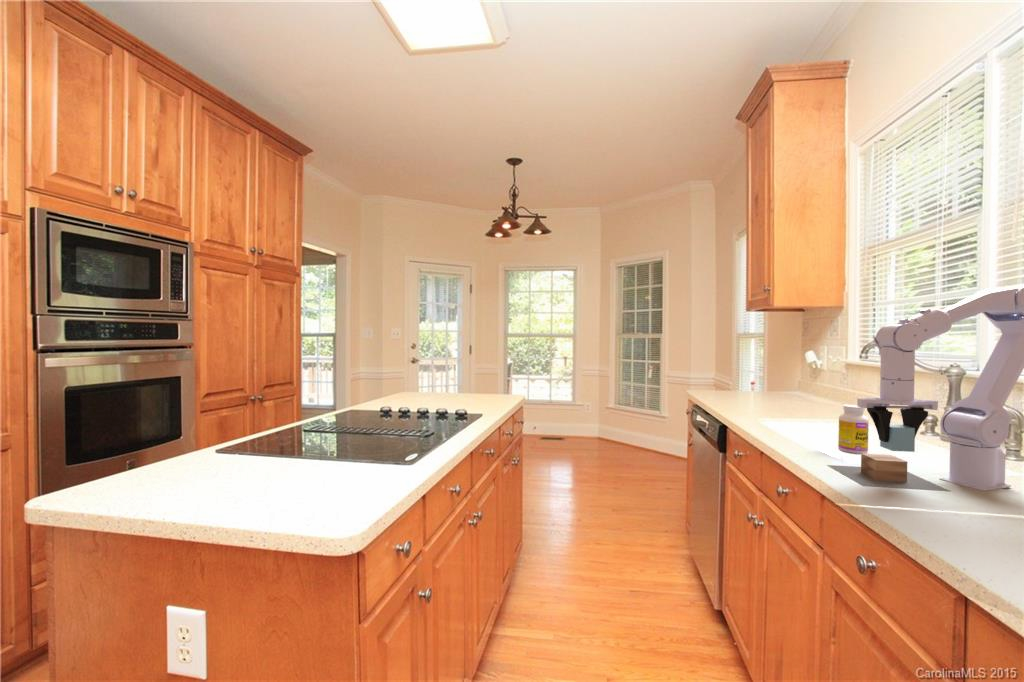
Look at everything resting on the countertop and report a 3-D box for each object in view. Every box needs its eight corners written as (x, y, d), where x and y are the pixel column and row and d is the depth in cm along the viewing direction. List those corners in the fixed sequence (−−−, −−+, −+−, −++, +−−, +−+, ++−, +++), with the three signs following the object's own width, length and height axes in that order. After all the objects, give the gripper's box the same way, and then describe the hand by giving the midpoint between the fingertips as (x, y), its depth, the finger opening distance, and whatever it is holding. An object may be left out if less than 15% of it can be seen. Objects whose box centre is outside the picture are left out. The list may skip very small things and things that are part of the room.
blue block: (880, 446, 103) (880, 423, 103) (901, 447, 102) (901, 424, 102) (892, 450, 99) (892, 427, 99) (914, 451, 98) (914, 428, 98)
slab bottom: (860, 472, 108) (861, 462, 108) (890, 473, 107) (890, 464, 107) (876, 480, 102) (876, 470, 102) (907, 481, 101) (907, 471, 101)
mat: (826, 466, 114) (826, 465, 114) (901, 470, 111) (901, 468, 111) (863, 487, 98) (863, 485, 98) (950, 492, 95) (950, 491, 95)
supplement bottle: (855, 456, 124) (856, 408, 124) (832, 450, 131) (833, 404, 130) (874, 454, 126) (875, 407, 126) (850, 448, 132) (851, 403, 132)
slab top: (861, 462, 108) (861, 453, 108) (890, 464, 107) (890, 454, 107) (876, 470, 102) (876, 460, 102) (907, 471, 101) (907, 461, 101)
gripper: (870, 380, 98) (869, 444, 98) (949, 381, 96) (948, 447, 96) (852, 377, 105) (851, 437, 105) (925, 378, 103) (924, 439, 103)
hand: (896, 441), depth 101 cm, fingers closed on blue block, 4 cm apart
